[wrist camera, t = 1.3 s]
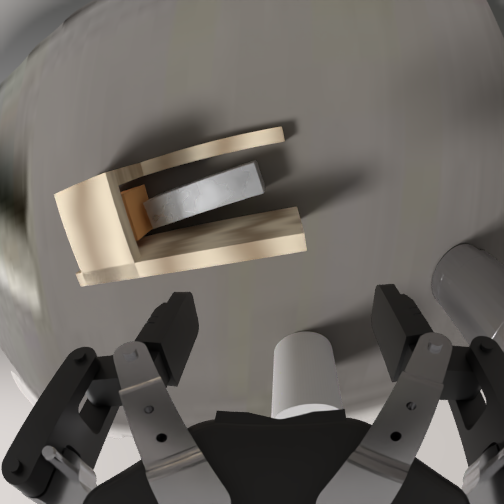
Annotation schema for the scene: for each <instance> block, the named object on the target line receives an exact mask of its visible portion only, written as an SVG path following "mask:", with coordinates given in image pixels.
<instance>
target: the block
mask: <svg viewBox="0 0 504 504" xmlns="http://www.w3.org/2000/svg"><path fill="white" fill-rule="evenodd" d="M120 193H121V196H122V200H123V203H124V206H125V210H126V213H127V216H128V219H129V222H130V225H131V228H132V231H133V234H134V237H135V240H136V241H138V240H140V239H141V238H142V237H143V236H144V235H145V234H147V233H148V232H149V231H150V230H151V229H153V227H152V224H151V222H150V220H149V217H148V215H147V212H146V210H145V207H144V205H143V202H145V201H147V200H149V198H148V195H147V191H146V188H145V184H144V185H141V186H137V187H134V188H131V189H128V190H125V191H122V192H120Z"/></svg>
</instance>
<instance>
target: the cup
mask: <svg viewBox="0 0 504 504" xmlns="http://www.w3.org/2000/svg"><path fill="white" fill-rule="evenodd" d="M339 409H343V405H342V399H341V393H340V387H339V382H338V376H337V371H336V366H335V360H334V355H333V350H332V346H331V343H330V342H329V340H328V339H327V338H326V337H324V336H323V335H321V334H318V333H315V332H309V331H303V332H297V333H293V334H290V335H288V336H286V337H285V338H283V339H282V340H281V341H280V342H279V343H278V344H277V346H276V348H275V351H274V371H273V394H272V414H271V418H275V419H285V418H289V417H294V416H298V415H302V414H306V413H310V412H313V411H327V410H339Z"/></svg>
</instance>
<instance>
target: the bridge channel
mask: <svg viewBox="0 0 504 504" xmlns="http://www.w3.org/2000/svg"><path fill="white" fill-rule="evenodd" d="M284 141H285V140H284V135H283V131H282V126H281V127H276V128H270V129H265V130H260V131H255V132H250V133H246V134H241V135H237V136H232V137H228V138H224V139H220V140H216V141H212V142H208V143H204V144H200V145H196V146H193V147H189V148H186V149H182V150H179V151H175V152H172V153H169V154H165V155H162V156H159V157H156V158H153V159H150V160H147V161H144V162H141V163H137V164H133V165H130V166H126V167H122V168H119V169H115V170H112V171H109V172H105V173H103V174H100V175H98V176H95V177H93V178H90V179H88V180H86V181H83V182H81V183H79V184H76V185H74V186H72V187H69V188H67V189H65V190H63V191H61V192H58V193H56V194H54V196H55V200H56V203H57V206H58V210H59V213H60V216H61V219H62V222H63V225H64V228H65V231H66V234H67V236H68V239H69V242H70V245H71V247H72V250H73V252H74V255H75V258H76V260H77V263H78V265H79V267H80V271H79V272H77V273H76V276H77V278H78V281H79V283H80V285H81V286H88V285H95V284H101V283H108V282H114V281H121V280H127V279H134V278H140V277H147V276H153V275H160V274H166V273H172V272H179V271H185V270H191V269H198V268H204V267H210V266H216V265H223V264H229V263H235V262H241V261H247V260H253V259H260V258H266V257H272V256H278V255H284V254H290V253H296V252H302V251H307V248H306V242H305V236H304V231H303V227H302V223H301V219H300V216H299V212H298V208H297V207H291V208H285V209H279V210H274V211H268V212H263V213H257V214H252V215H246V216H241V217H236V218H231V219H226V220H221V221H215V222H210V223H206V224H201V225H196V226H191V227H186V228H181V229H177V230H172V231H167V232H163V233H158V234H154V235H149V236H145V237H142V238H141V239H140V240H138V241H136V240H135V237H134V234H133V231H132V228H131V225H130V222H129V219H128V216H127V213H126V210H125V206H124V203H123V200H122V196H121V193H120V189H119V186H118V185H121V184H124V183H126V182H129V181H131V180H134V179H137V178H139V177H142V176H145V175H148V174H151V173H154V172H158V171H161V170H164V169H168V168H171V167H175V166H178V165H182V164H186V163H189V162H193V161H197V160H201V159H205V158H209V157H213V156H217V155H221V154H225V153H229V152H234V151H238V150H243V149H248V148H252V147H257V146H262V145H267V144H273V143H278V142H284Z"/></svg>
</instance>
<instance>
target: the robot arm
mask: <svg viewBox="0 0 504 504" xmlns="http://www.w3.org/2000/svg"><path fill="white" fill-rule="evenodd" d="M432 291H433V295H434V297H435V299H436V300H437V301H438V302H439V304H440V305H441V306H442V308H443V309H444V310H445V312H446V313H447V314H448V316H449V317H450V318H451V320H452V321H453V323H454V324H455V325H456V327H457V328H458V329H459V331H460V332H461V334H462V335H463V337H464V338H465V339H466V341H467V342H468V344H469V345H470V346H469V347H461V346H452V343H451V341H450V340H449V339H448V338H447V337H446V336H444V335H442V334H440V333H435V332H433V330H432V329H431V327H430V326H429V324H428V322H427V321H426V319H425V318H424V316H423V314H421V311H420V310H419V308H418V307H417V305H416V304H415V302H414V301H413V300H412V299H411V298H409V297H408V296H407V295H405V294H400V293H399V291H398V290H397V288H396V287H395V285H394V284H385V285H377V286H376V289H375V295H374V303H373V309H372V316H371V322H372V328H373V331H374V334H375V336H376V339H377V342H378V344H379V347H380V350H381V352H382V355H383V358H384V360H385V363H386V366H387V369H388V372H389V375H390V378H391V380H392V382H396V381H397V383H396V385H395V386H394V388H393V390H392V392H391V394H390V396H389V397H388V399H387V401H386V403H385V404H384V406H383V408H382V410H381V411H380V413H379V415H378V416H377V418H376V420H375V421H374V423H373V425H370V424H368V423H366V422H363V421H360V420H357V419H352V418H346V415H345V409H339V410H327V411H313V412H310V413H306V414H302V415H298V416H294V417H289V418H285V419H275V418H270V417H266V416H261V415H257V414H252V413H248V412H228V411H217V413H216V417H215V419H214V420H208V421H204V422H201V423H198V424H195V425H193V426H191V427H189V428H187V427H186V426H185V424H184V422H183V420H182V418H181V416H180V415H179V413H178V411H177V409H176V407H175V405H174V403H173V401H172V399H171V397H170V395H169V393H168V391H167V389H166V388H167V385H168V386H176V387H177V386H178V383H179V381H180V378H181V376H182V373H183V370H184V368H185V365H186V363H187V360H188V358H189V355H190V352H191V350H192V347H193V345H194V342H195V340H196V337H197V335H198V330H199V323H198V317H197V313H196V309H195V304H194V300H193V296H192V293H191V292H174V293H173V294H172V296H171V297H170V299H169V300H168V302H167V303H163V304H161V305H160V306H159V307H157V308H156V309H155V310H154V312H153V313H152V315H151V318H149V319H148V321H147V323H146V324H145V325H144V327H143V329H142V330H141V332H140V333H139V335H138V336H137V338H136V339H135V341H132V342H128V343H125V344H123V345H121V346H119V347H118V348H117V349H116V350H115V352H114V354H113V355H111V356H102V357H97V355H96V353H95V351H94V350H93V349H92V348H90V347H81V348H78V349H76V350H74V351H73V352H71V353H70V354H69V355H68V357H67V358H66V359H65V361H64V362H63V364H62V365H61V366H60V368H59V369H58V371H57V372H56V374H55V375H54V377H53V378H52V380H51V381H50V383H49V384H48V386H47V387H46V389H45V390H44V392H43V393H42V395H41V396H40V398H39V399H38V401H37V402H36V404H35V406H34V407H33V409H32V411H31V412H30V414H29V416H28V417H27V419H26V420H25V422H24V424H23V425H22V427H21V429H20V431H19V432H18V434H17V436H16V438H15V439H14V441H13V443H12V444H11V447H10V448H9V450H8V452H7V454H6V456H5V458H4V459H3V462H2V474H3V476H4V478H5V479H6V481H7V482H9V483H10V484H11V485H13V486H14V487H15V488H17V489H18V490H19V491H21V492H22V493H23V494H24V495H25V496H26V497H28V498H29V499H31V500H33V501H34V502H36V503H37V504H504V265H503V264H502V263H500V262H499V261H498V260H497V259H495V258H494V257H493V256H491V255H490V254H489V253H487V252H486V251H485V250H479V249H477V248H476V247H475V246H473V245H470V244H462V245H458V246H456V247H454V248H452V249H451V250H450V251H448V252H447V253H446V254H445V255H444V256H443V258H442V259H441V260H440V262H439V263H438V265H437V267H436V269H435V272H434V275H433V279H432ZM481 389H482V391H483V393H484V395H485V397H486V403H485V401H484V399H483V397H482V394H481V392H480V390H481ZM84 395H86V396H87V400H86V402H85V404H84V406H83V408H82V410H81V411H80V413H79V412H78V407H79V404H80V402H81V400H82V398H83V397H84ZM439 400H448V402H449V405H450V407H451V410H452V413H453V416H454V419H455V422H456V425H457V428H458V431H459V435H460V438H461V441H462V444H463V448H464V451H465V455H466V459H467V463H468V467H469V468H468V469H467V470H466V472H465V474H464V477H463V486H462V489H460V488H459V487H458V486H456V485H455V484H453V483H452V482H450V481H449V480H447V479H446V478H444V477H443V476H442V475H440V474H438V473H437V472H436V471H434V470H433V469H431V468H430V467H428V466H427V465H426V464H424V463H423V462H421V461H420V460H419V459H417V458H416V457H415V456H416V454H417V452H418V450H419V448H420V446H421V443H422V441H423V439H424V437H425V434H426V432H427V430H428V428H429V425H430V423H431V420H432V418H433V415H434V413H435V410H436V407H437V404H438V401H439ZM119 406H123V408H124V411H125V414H126V418H127V421H128V424H129V427H130V430H131V432H132V435H133V438H134V441H135V444H136V446H137V449H138V451H139V454H140V456H141V460H140V461H138V462H137V463H135V464H134V465H132V466H131V467H129V468H127V469H126V470H124V471H122V472H121V473H119V474H117V475H116V476H114V477H112V478H111V479H109V480H107V481H105V482H104V483H102V484H100V485H99V486H97V485H96V475H95V472H94V471H93V469H94V467H95V464H96V461H97V459H98V456H99V454H100V451H101V449H102V446H103V444H104V442H105V439H106V437H107V434H108V432H109V430H110V427H111V425H112V423H113V420H114V418H115V416H116V413H117V411H118V409H119Z"/></svg>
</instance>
